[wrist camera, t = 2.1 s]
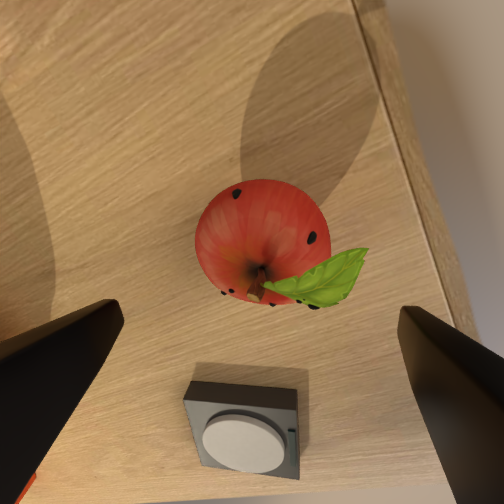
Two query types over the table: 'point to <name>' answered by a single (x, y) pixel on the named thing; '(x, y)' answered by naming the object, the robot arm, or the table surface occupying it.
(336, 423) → the table surface
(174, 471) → the table surface
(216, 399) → the scale
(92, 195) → the table surface
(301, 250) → the spotted red fruit
